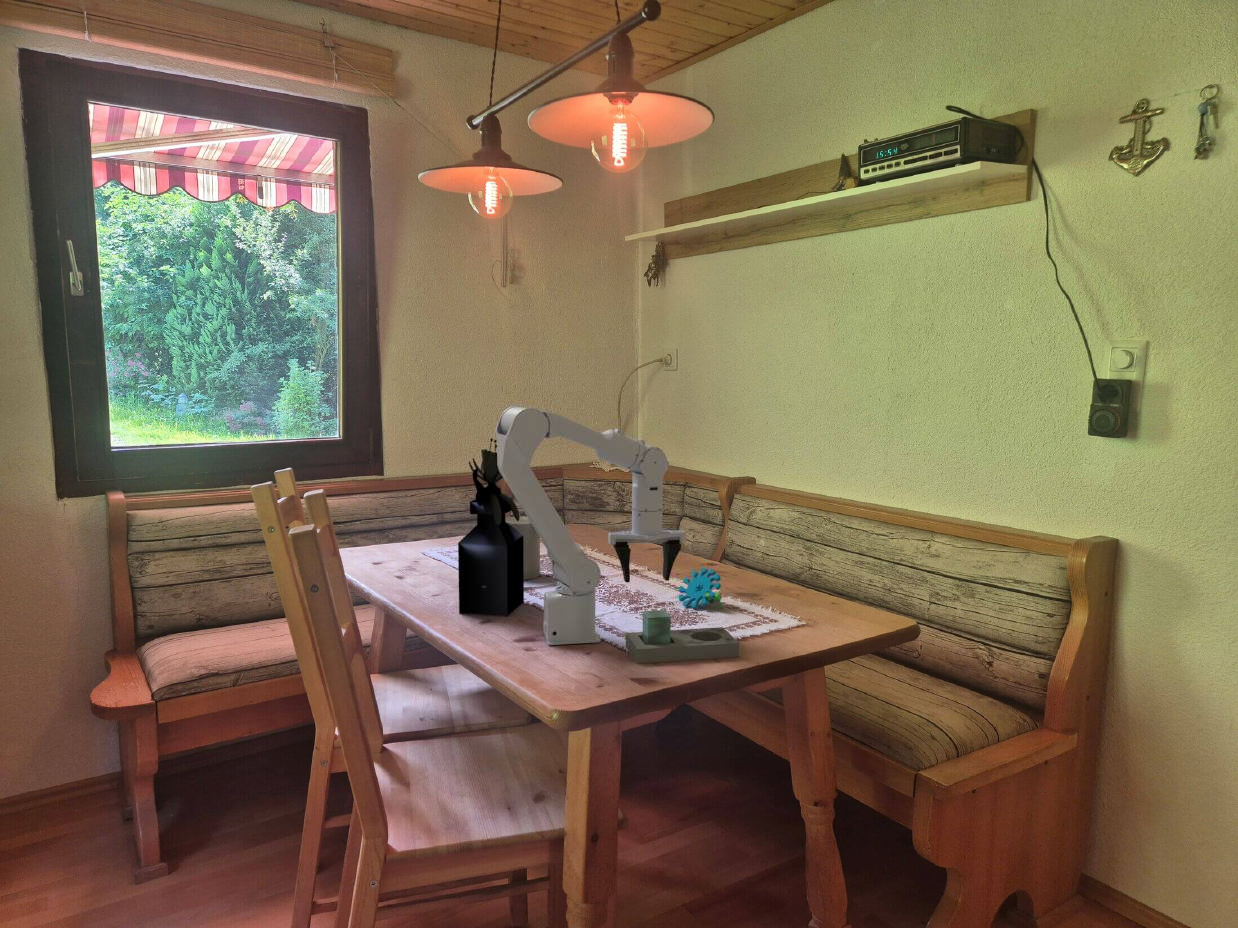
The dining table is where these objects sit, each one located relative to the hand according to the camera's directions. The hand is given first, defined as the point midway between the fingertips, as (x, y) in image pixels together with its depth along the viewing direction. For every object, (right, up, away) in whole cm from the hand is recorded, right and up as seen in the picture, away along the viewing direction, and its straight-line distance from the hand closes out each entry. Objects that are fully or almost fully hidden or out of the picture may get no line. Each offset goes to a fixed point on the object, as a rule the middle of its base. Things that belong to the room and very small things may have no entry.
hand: (646, 580), depth 157 cm
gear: (+12, -8, +17) cm, 22 cm away
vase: (-31, -8, +14) cm, 35 cm away
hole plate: (+6, -11, -12) cm, 17 cm away
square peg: (+1, -11, -13) cm, 17 cm away
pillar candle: (-29, -5, +42) cm, 51 cm away
